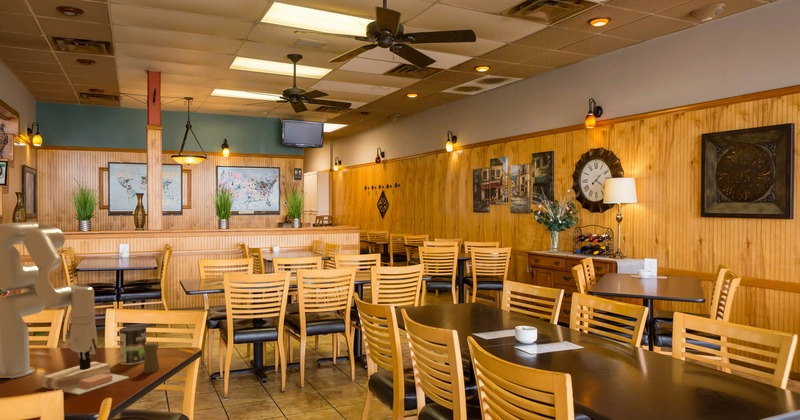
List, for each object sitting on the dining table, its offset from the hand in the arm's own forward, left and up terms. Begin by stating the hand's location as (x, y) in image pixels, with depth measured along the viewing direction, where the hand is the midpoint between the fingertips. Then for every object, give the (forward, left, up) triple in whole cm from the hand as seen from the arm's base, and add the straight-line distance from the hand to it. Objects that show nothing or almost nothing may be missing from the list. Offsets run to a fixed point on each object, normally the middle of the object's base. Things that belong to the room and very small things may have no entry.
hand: (85, 368), depth 208 cm
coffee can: (-7, +26, -5) cm, 27 cm away
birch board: (-5, 0, -5) cm, 7 cm away
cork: (+11, +20, -5) cm, 24 cm away
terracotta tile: (+6, 0, -3) cm, 7 cm away
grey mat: (+6, 0, -5) cm, 8 cm away
